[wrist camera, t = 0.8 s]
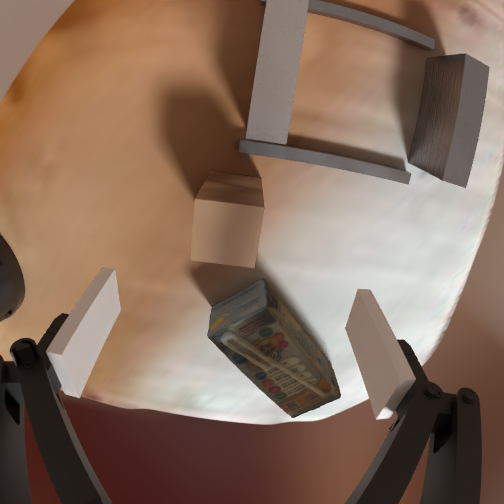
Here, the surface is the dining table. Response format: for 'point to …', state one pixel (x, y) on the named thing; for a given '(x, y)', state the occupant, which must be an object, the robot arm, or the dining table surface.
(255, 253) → the block
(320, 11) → the vise body
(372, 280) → the dining table surface
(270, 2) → the block
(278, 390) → the beverage carton
